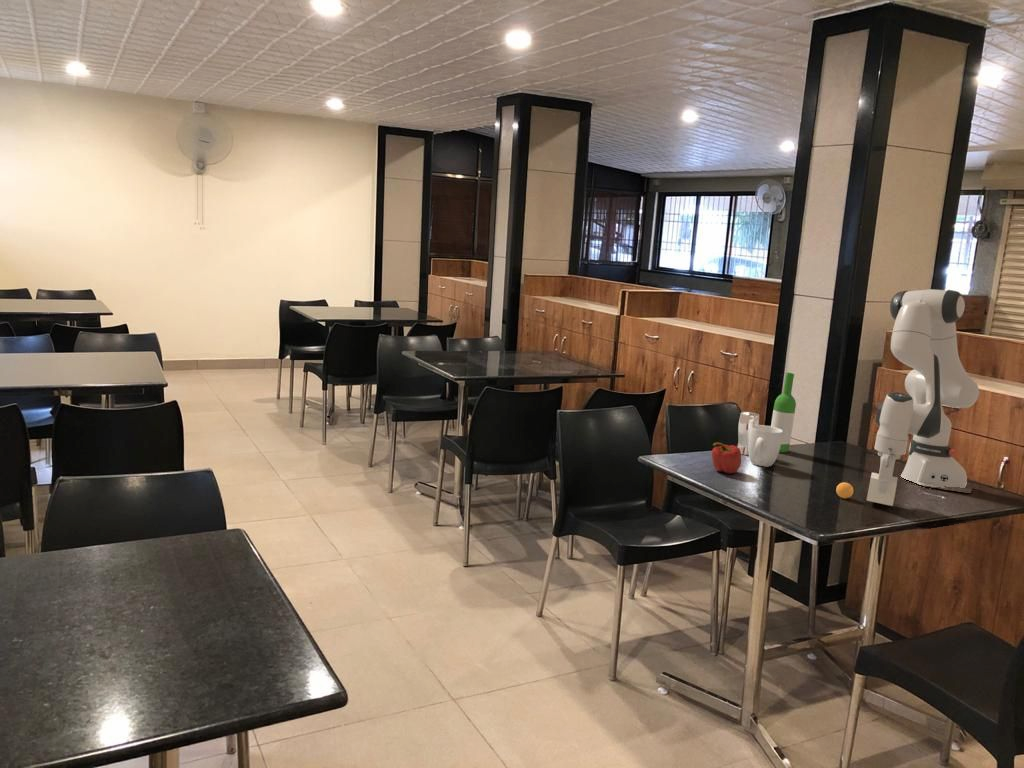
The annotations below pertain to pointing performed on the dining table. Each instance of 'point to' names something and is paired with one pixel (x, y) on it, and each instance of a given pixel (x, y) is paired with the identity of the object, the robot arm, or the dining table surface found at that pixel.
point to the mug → (764, 444)
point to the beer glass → (746, 430)
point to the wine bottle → (785, 413)
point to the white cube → (880, 497)
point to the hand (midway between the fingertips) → (882, 489)
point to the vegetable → (726, 458)
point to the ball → (844, 490)
